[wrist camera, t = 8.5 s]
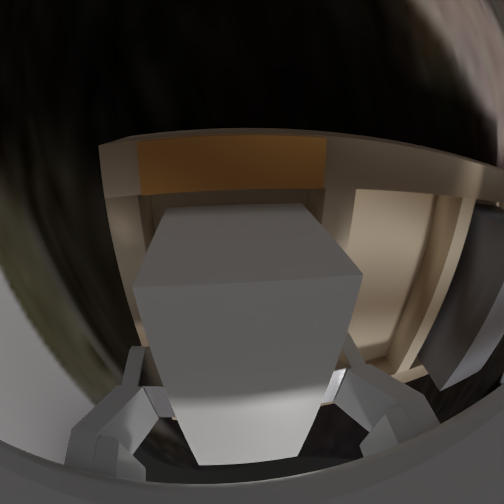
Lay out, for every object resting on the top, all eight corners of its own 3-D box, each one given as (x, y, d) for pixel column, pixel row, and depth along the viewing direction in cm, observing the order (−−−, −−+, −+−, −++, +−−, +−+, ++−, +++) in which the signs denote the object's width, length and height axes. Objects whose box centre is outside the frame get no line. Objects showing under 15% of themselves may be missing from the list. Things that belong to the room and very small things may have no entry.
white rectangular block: (166, 207, 8) (132, 287, 4) (301, 203, 8) (363, 274, 5) (197, 391, 12) (199, 464, 8) (279, 385, 12) (297, 456, 9)
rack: (129, 136, 9) (50, 163, 4) (496, 166, 11) (563, 199, 6) (175, 377, 15) (171, 459, 10) (441, 334, 17) (477, 382, 12)
